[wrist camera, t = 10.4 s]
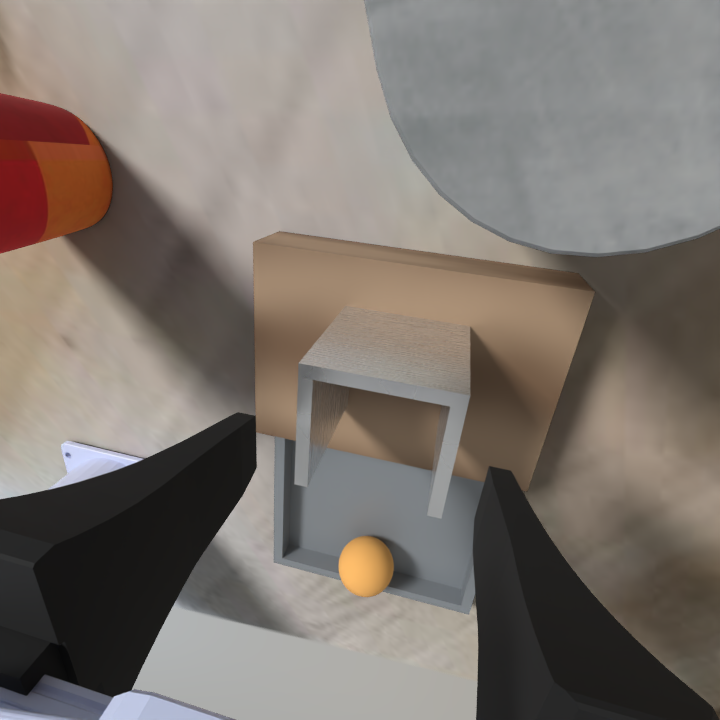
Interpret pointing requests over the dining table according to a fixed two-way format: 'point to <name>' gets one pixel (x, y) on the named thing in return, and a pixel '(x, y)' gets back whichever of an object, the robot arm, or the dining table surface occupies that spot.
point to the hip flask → (561, 115)
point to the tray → (377, 523)
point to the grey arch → (384, 383)
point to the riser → (428, 301)
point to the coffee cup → (48, 173)
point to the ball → (366, 566)
